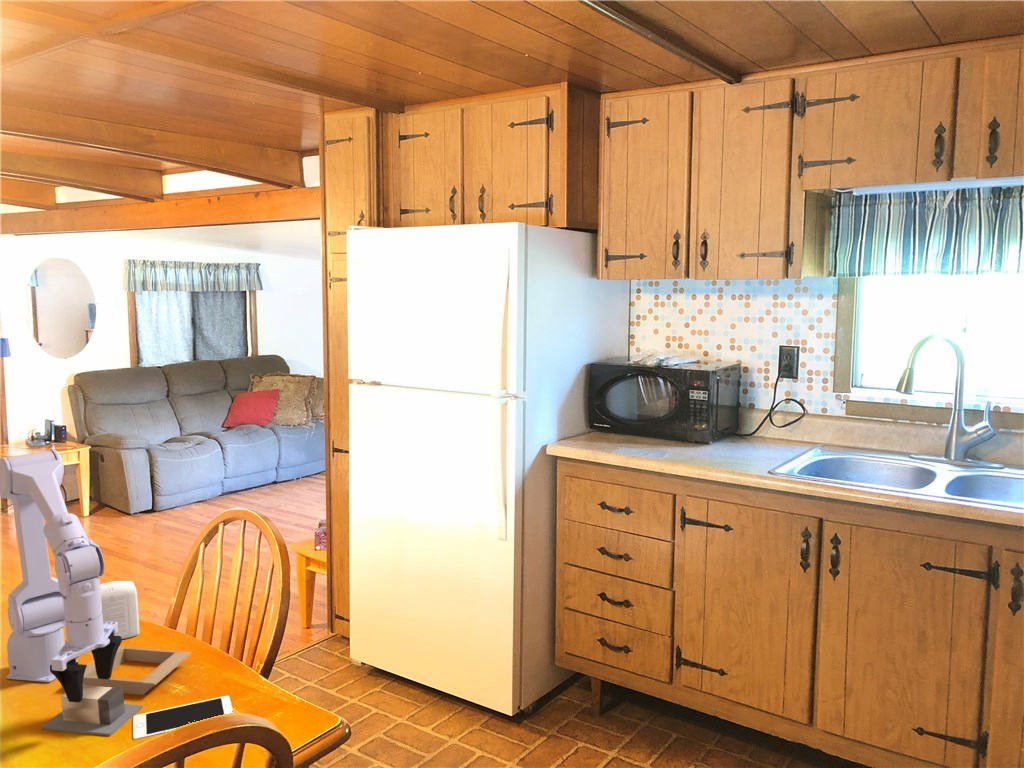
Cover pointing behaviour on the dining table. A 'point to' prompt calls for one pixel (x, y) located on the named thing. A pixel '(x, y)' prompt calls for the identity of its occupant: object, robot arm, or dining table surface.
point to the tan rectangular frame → (142, 655)
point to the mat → (91, 728)
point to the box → (95, 705)
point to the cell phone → (178, 716)
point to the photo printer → (121, 607)
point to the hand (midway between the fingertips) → (90, 689)
